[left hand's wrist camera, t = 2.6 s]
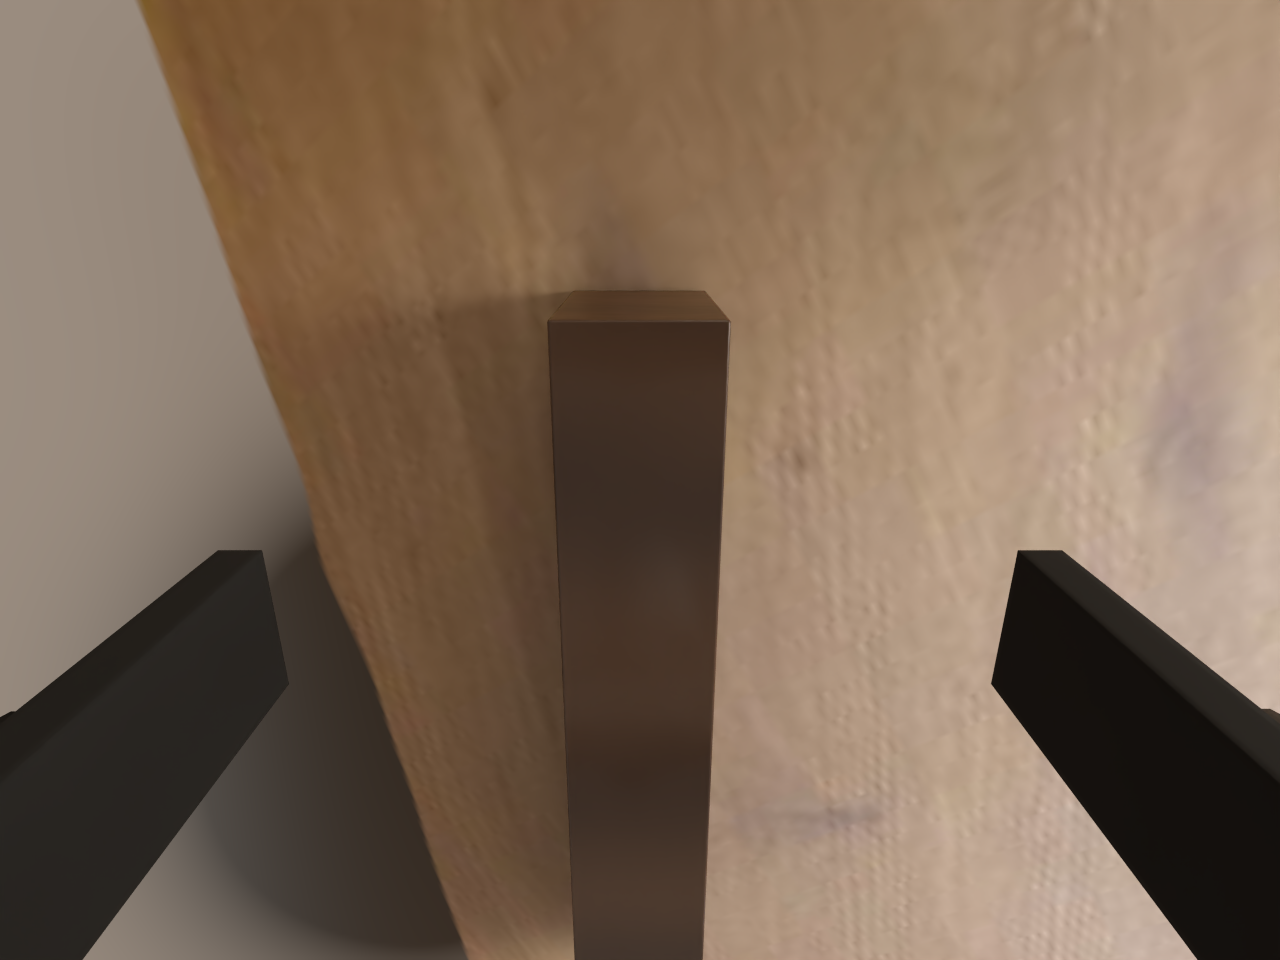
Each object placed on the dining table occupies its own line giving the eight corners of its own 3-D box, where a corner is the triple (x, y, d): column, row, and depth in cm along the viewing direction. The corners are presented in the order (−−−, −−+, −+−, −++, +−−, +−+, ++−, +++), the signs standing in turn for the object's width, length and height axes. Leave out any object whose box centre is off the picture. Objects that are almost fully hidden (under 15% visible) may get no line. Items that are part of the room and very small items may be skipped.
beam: (572, 290, 27) (546, 320, 20) (706, 290, 27) (731, 320, 20) (591, 912, 38) (579, 1084, 31) (686, 913, 38) (697, 1084, 31)
